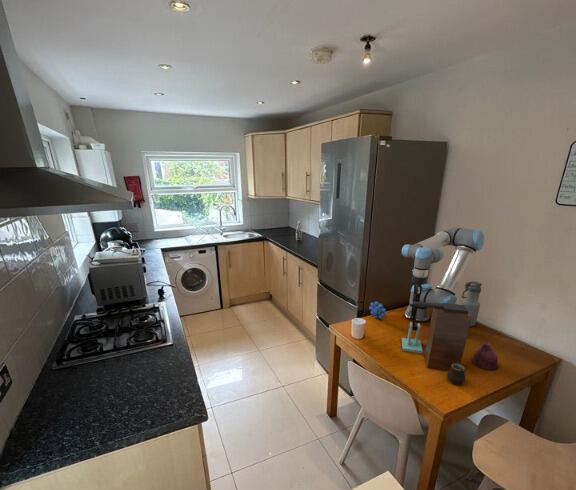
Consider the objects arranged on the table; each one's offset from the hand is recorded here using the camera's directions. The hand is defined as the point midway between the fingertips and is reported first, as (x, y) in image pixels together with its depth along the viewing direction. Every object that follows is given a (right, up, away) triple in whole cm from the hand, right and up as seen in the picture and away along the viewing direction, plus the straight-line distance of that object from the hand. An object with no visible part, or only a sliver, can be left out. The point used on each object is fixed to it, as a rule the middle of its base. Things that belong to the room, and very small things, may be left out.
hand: (413, 314), depth 173 cm
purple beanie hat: (+27, -23, -21) cm, 41 cm away
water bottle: (+43, -7, +21) cm, 49 cm away
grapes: (-14, -5, +27) cm, 31 cm away
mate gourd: (+5, -28, -34) cm, 44 cm away
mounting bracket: (-3, -17, -5) cm, 18 cm away
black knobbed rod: (-1, -5, -3) cm, 7 cm away
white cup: (-31, -13, +6) cm, 34 cm away
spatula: (0, +6, -30) cm, 30 cm away
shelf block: (+5, -23, -21) cm, 31 cm away
